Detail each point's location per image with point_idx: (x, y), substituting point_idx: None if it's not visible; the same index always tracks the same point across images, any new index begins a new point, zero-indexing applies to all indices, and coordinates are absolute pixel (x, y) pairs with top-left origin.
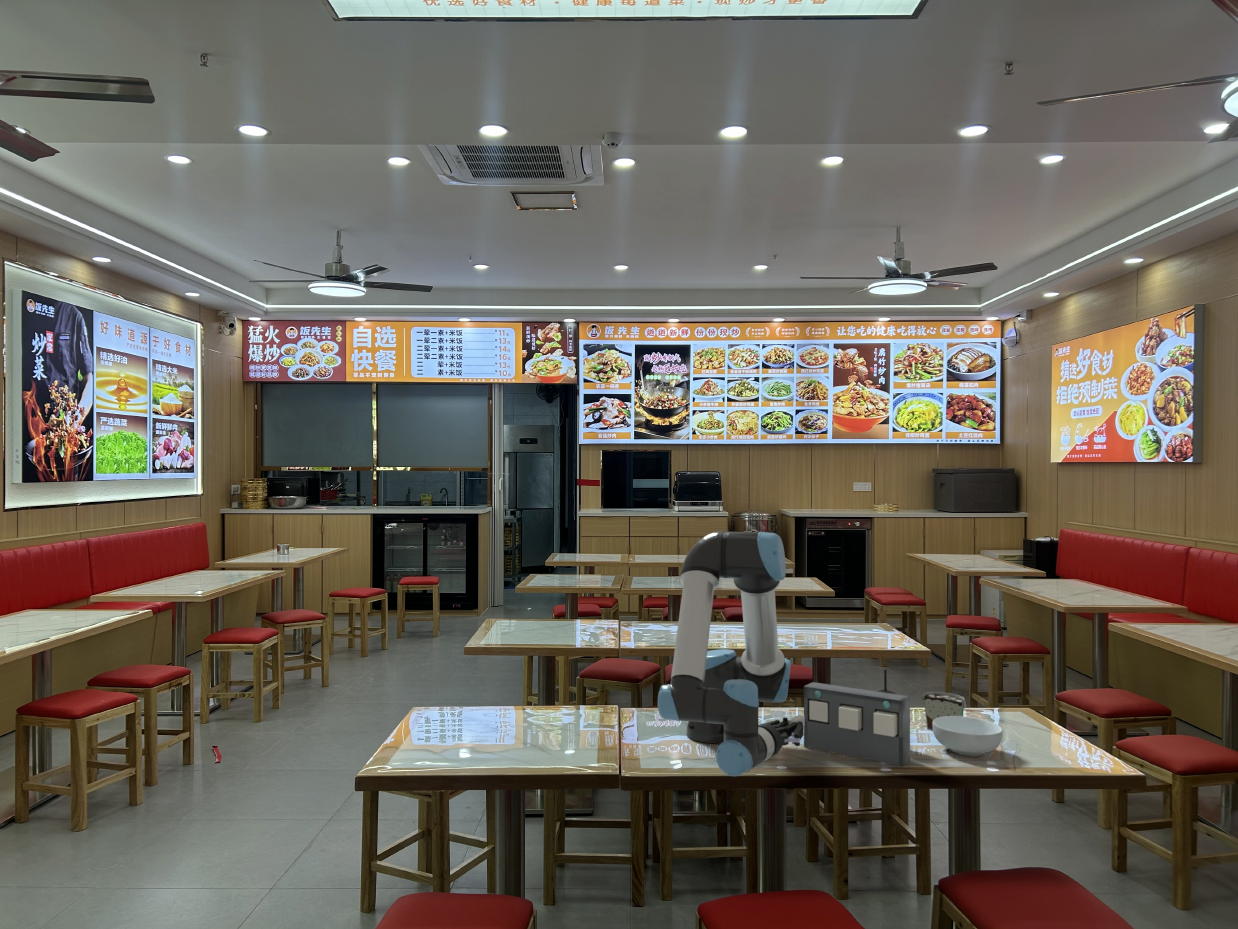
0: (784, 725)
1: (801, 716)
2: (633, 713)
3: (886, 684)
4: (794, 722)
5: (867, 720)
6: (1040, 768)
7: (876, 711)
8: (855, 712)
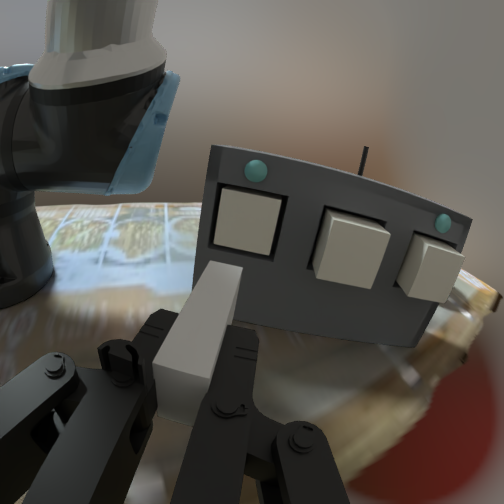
0: (121, 450)
1: (231, 276)
2: None
3: (362, 173)
4: (222, 408)
5: (386, 257)
6: (474, 298)
7: (419, 237)
8: (382, 238)
